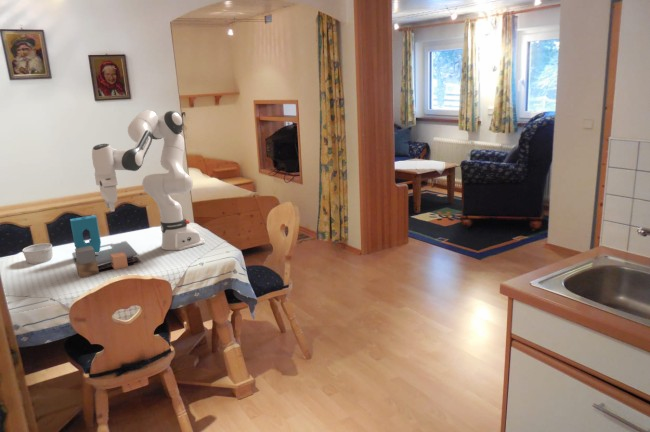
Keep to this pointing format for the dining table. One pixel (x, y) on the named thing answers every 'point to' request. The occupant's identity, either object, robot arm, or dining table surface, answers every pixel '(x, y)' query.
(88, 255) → the tower top
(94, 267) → the tower base
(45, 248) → the ramekin
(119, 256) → the terracotta cube
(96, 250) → the block
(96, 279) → the dining table surface
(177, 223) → the robot arm
